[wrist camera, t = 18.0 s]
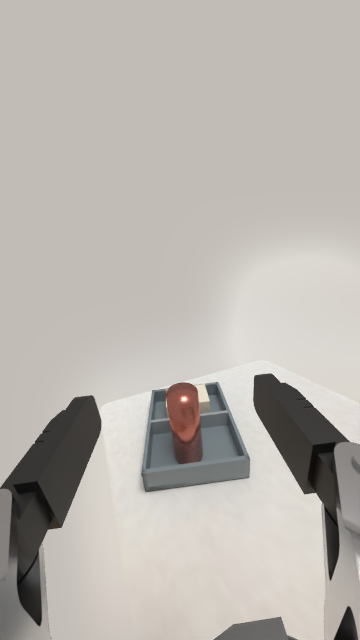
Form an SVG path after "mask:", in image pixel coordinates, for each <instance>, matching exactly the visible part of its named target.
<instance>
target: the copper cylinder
mask: <svg viewBox="0 0 360 640" xmlns="http://www.w3.org/2000/svg"><path fill="white" fill-rule="evenodd" d="M166 401H167V408H168V415H169V421H170V428H171V434H172V441H173V448H174V454H175V459H176V461H177V462H178V463H179V464H187V463H194V462H200V461H201V460H202V457H203V445H202V433H201V422H200V410H199V399H198V390H197V388H196V387H195V386H194V385H192V384H190V383H177V384H174V385H172V386H171V387H170V388H169V389H168V390H167V391H166Z"/></svg>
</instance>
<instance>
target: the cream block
mask: <svg viewBox="0 0 360 640" xmlns="http://www.w3.org/2000/svg"><path fill="white" fill-rule="evenodd" d="M194 386H195V387H196V388H197V390H198V399H199V410H200V414H203V413H210V400H209V397H208V394H207V390H206V387H205V384H201V385H194ZM167 390H168V389H166V391H167ZM166 411H167V417H168V418H169V415H168V408H167V401H166Z"/></svg>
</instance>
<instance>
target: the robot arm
mask: <svg viewBox="0 0 360 640" xmlns="http://www.w3.org/2000/svg"><path fill="white" fill-rule="evenodd" d="M253 401H254V407H255V410H256V412H257V414H258V416H259V418H260V419H261V421H262V423H263V425H264V426H265V428H266V430H267V431H268V433H269V435H270V436H271V438H272V440H273V442H274V443H275V445H276V447H277V448H278V450H279V452H280V454H281V455H282V457H283V459H284V460H285V462H286V464H287V465H288V467H289V469H290V471H291V472H292V474H293V476H294V477H295V479H296V481H297V482H298V484H299V486H300V488H301V489H302V491H303V493H304V494H310V493H317V495H318V497H319V498H320V500H321V501H322V527H323V546H324V564H325V604H324V638H325V640H360V444H356V443H352V442H350V441H349V440H347V439H346V438H345V437H344V436H343V435H342V434H341V433H340V432H339V431H338V430H337V429H336V428H335V427H334V426H333V425H332V424H331V423H330V422H329V421H328V420H327V419H326V418H325V417H324V416H323V415H322V414H321V413H320V412H319V411H318V410H317V409H316V408H314V407H313V405H312V404H311V403H310V402H309V401H308V400H306V398H305V397H304V396H303V395H302V394H301V393H300V392H299V391H298V390H297V389H295V388H293V387H292V386H290V385H288V384H286V383H280V381H279V380H278V379H277V378H276V377H275V376H274V375H273V374H271V373H269V374H261V375H255V377H254V397H253ZM100 431H101V418H100V415H99V411H98V408H97V405H96V402H95V399H94V397H93V396H92V395H90V396H82V397H75V398H74V399H73V400H72V401H71V403H70V404H69V406H68V407H67V408H66V410H63V411H61V412H60V413H59V414H58V415H57V416H56V417H54V418H53V419H52V420H51V421H50V422H49V424H48V425H47V426H46V428H45V429H44V430H43V433H42V434H40V436H39V437H38V438H37V440H36V441H35V444H33V445H32V446H31V448H30V449H29V450H28V452H27V453H26V455H25V456H24V457H23V458H22V460H21V461H20V462H19V463H18V465H17V466H16V468H15V469H14V470H13V472H12V473H11V474H10V475H9V477H8V478H7V479H6V481H5V482H4V483H3V485H2V486H1V488H0V640H52V638H51V634H50V629H49V619H48V606H47V591H46V576H45V562H44V548H43V544H42V541H43V539H44V537H45V535H46V532H47V530H49V529H55V528H61V527H62V526H63V523H64V520H65V518H66V516H67V513H68V511H69V508H70V506H71V503H72V501H73V498H74V496H75V493H76V491H77V488H78V486H79V484H80V481H81V479H82V476H83V474H84V471H85V469H86V466H87V464H88V462H89V459H90V457H91V454H92V452H93V449H94V447H95V444H96V442H97V439H98V437H99V434H100ZM214 640H297V639H295V638H293V637H290V636H287V634H286V631H285V628H284V625H283V622H282V619H281V617H277V618H271V619H265V620H259V621H252V622H246V623H240V624H234V625H232V626H231V627H230V628H228V629H227V630H226V631H224V632H223V633H222V634H220V635H219V636H218V637H216V638H215V639H214Z"/></svg>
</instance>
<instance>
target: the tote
mask: <svg viewBox="0 0 360 640" xmlns="http://www.w3.org/2000/svg"><path fill="white" fill-rule="evenodd" d="M199 385H201V384H199ZM205 387H206V390H207V394H208V397H209V400H210V413H203V414H200V422H201V433H202V445H203V457H202V460H201V461H200V462H194V463H187V464H179V463H178V462H177V461H176V459H175V454H174V448H173V441H172V434H171V428H170V421H169V418H168V417H167V411H166V389H159V390H152V397H151V404H150V412H149V419H148V427H147V435H146V442H145V450H144V457H143V465H142V473H141V474H142V478H143V482H144V486H145V490H146V492H147V491H154V490H161V489H168V488H175V487H182V486H190V485H197V484H204V483H211V482H218V481H225V480H232V479H240V478H247V477H249V474H250V458H249V455H248V453H247V451H246V448H245V446H244V443H243V441H242V439H241V436H240V434H239V431H238V429H237V426H236V424H235V422H234V419H233V417H232V414H231V412H230V410H229V407H228V405H227V402H226V400H225V397H224V395H223V393H222V390H221V388H220V385H219V383H218V382H215V383H207V384H205ZM167 389H169V388H167Z"/></svg>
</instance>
